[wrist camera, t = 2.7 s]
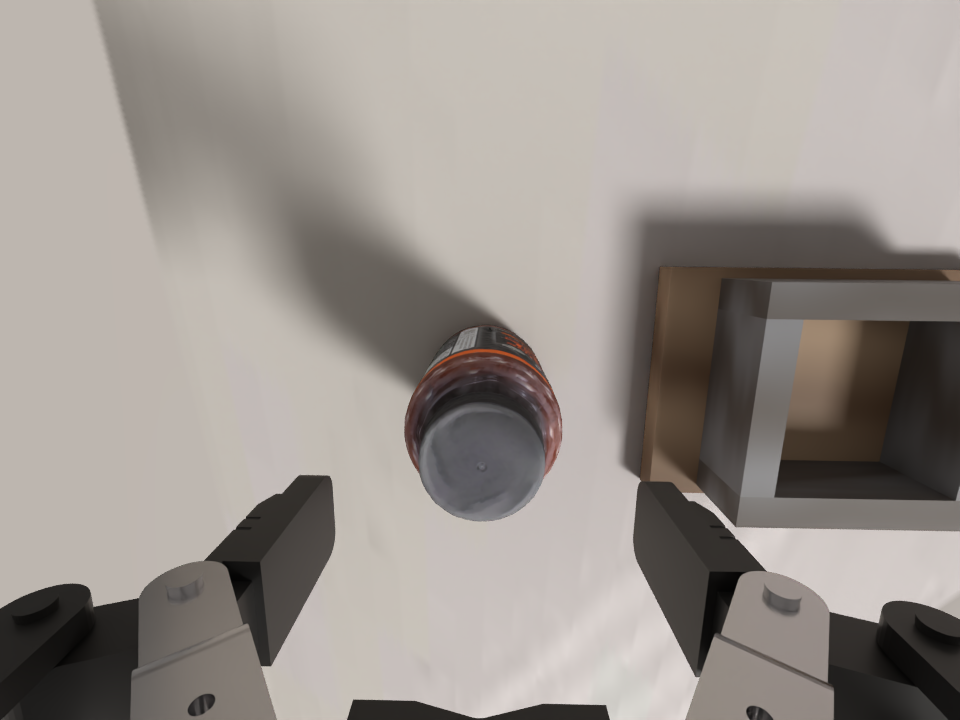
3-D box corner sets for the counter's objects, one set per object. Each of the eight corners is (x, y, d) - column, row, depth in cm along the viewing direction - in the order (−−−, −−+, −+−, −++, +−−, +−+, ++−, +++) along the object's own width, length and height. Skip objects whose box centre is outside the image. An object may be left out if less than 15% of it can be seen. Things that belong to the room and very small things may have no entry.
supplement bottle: (561, 379, 25) (621, 475, 14) (482, 447, 26) (478, 587, 15) (488, 299, 24) (488, 332, 13) (409, 372, 25) (346, 462, 14)
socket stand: (659, 266, 23) (711, 268, 18) (972, 270, 23) (1119, 272, 18) (639, 478, 26) (679, 535, 21) (920, 483, 26) (1034, 542, 20)
